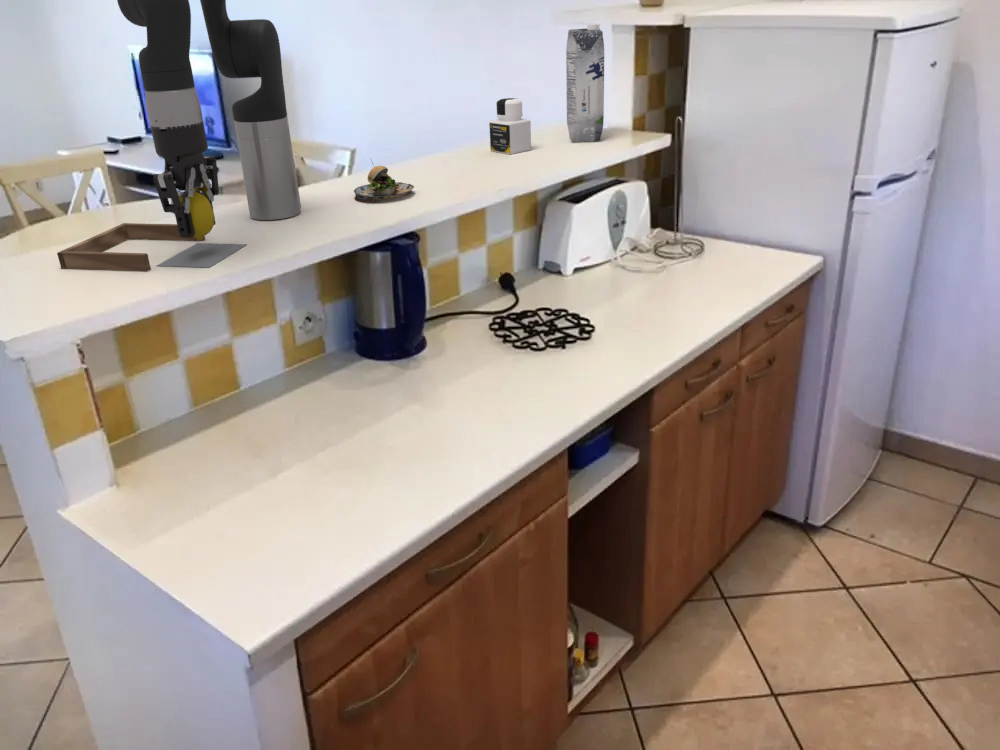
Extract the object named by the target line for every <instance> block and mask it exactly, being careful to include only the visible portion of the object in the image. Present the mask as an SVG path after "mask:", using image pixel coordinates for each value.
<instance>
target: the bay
mask: <svg viewBox="0 0 1000 750" xmlns="http://www.w3.org/2000/svg"><path fill="white" fill-rule="evenodd" d="M142 239H148V240H147V241H149V240H150V241H151V240H152V241H183V240H184V241H185V242H186V241H189V242H191V241H193V242H203V241H204V240H206V235H205V236H204V238H203V239H202V240H197V239H196V238H195V237H191V238H186V237H181V236H180V233H179V231H178V225H177V223H174V224H173V223H172V224H171V223H132V222H131V223H129V222H124V223H123V222H122V223H121V224H119V225H116V226H115V227H112V228H110V229H107V230H106V231H103V232H101V233H99V234H96V235H94V236H92V237H90V238H88V239H85V240H83V241H81V242H78V243H76V244H73V245H72V246H70V247H66V248H65V249H63V250H60V251H59V252H58V251H57V252H56V254H57V257H58V262H59V265H60V269H64V270H65V269H67V270H69V269H70V270H92V271H93V270H96V271H97V270H98V271H99V270H100V271H101V270H102V271H122V272H123V271H129V272H148V270H149V271H150V270H152V268H151V263H150V259H149V255H148V253H147V252H146V253H145V252H141V253H140V252H109V251H108V252H105V251H107V250H109V249H111V248H113V247H115V246H117V245H119V244H122V243H123V242H126V241H127V240H142Z"/></svg>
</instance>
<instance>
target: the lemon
mask: <svg viewBox="0 0 1000 750" xmlns="http://www.w3.org/2000/svg"><path fill="white" fill-rule="evenodd" d="M179 199H180V202H181V205H183V198H179ZM189 213H191V217H192V222H193V227H194V232H195V235H194V236H193V237H195V238H196V239H197V240H202V239H203V238H204V236H205V237H206V236H207V235H208V234H210V233H211V231H212V230H213V228H214V226H215V225H214V216H215V212H214V208H213V209H212V206H211V204H210V202H209V201H208V199H207V198H206V197H205V196H204V195H202V194H200V193H198V192H194V191H193V197H192V198H191V199H190V212H189ZM213 225H214V226H213Z"/></svg>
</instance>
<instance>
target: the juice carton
mask: <svg viewBox="0 0 1000 750" xmlns="http://www.w3.org/2000/svg"><path fill="white" fill-rule="evenodd" d="M600 26H601V25H600V24H599V23H587V28H576V29H572V28H571V29H568V32H567V40H566V47H565V48H566V49H565V50H566V55H565V57H566V63H565V64H566V67H565V69H566V72H565V73H566V124H567V130H568V134H569V135H568V136H569V137H570V141H571V143H589V142H590V143H593V142H596V143H597V142H600V141H601V139H602V134H603V130H604V118H605V117H604V116H605V115H604V112H605V109H604V108H605V107H604V106H605V42H604V33H603V31H602V30H601V28H600Z"/></svg>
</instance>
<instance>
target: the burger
mask: <svg viewBox="0 0 1000 750" xmlns="http://www.w3.org/2000/svg"><path fill="white" fill-rule="evenodd" d="M370 160H371V161H370V162H371V163H372V165H373V167H372V168H371V169H370V170H369V172H368V175H367V182H368V183H369V184H364V185H361V186H358V187H356V188H355V189H354V190H353V193H354V194H355V195H354V198H353V199H354V201H355V202H358V203H363V204H373V203H374V200H390V199H396V198H400V197H402V196H406V195H407V194H409V192H411V191H412V190H413V189H414V188H415V186H414V185H413V184H411V183H407V182H401V181H398V182H396V180H395V179H394V178H392V177H391V176H390V175H389V174H388V171H389V169H388V168H387V167H386V166H384V165H377V166H375V165H374V162H373V160H372V159H370Z"/></svg>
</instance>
